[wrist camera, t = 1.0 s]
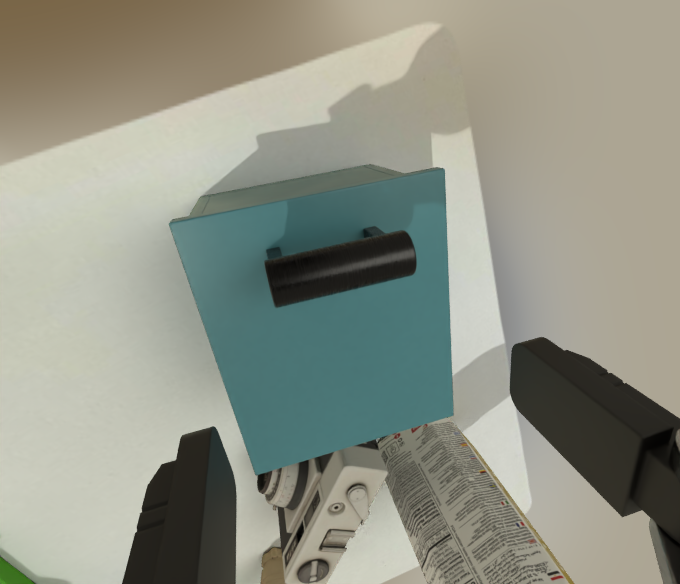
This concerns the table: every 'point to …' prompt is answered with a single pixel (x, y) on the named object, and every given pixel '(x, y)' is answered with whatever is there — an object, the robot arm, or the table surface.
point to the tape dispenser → (11, 574)
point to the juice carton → (461, 512)
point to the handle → (273, 567)
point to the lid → (327, 313)
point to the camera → (322, 507)
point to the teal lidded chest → (290, 188)
